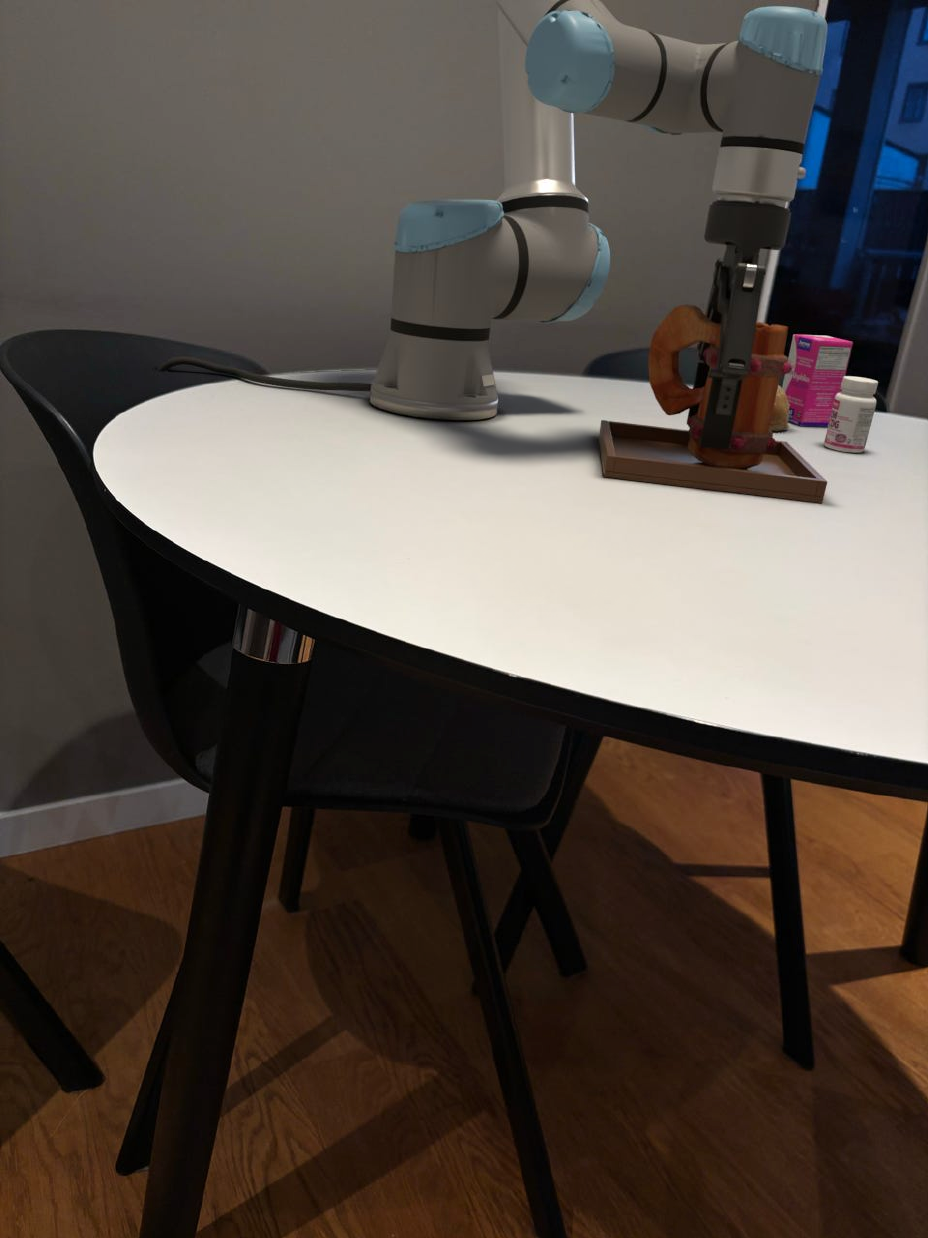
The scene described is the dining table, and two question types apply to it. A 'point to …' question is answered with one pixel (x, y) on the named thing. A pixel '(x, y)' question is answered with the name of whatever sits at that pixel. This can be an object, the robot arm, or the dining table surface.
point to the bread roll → (780, 412)
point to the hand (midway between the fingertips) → (706, 435)
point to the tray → (702, 464)
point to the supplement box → (815, 377)
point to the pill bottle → (851, 415)
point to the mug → (676, 397)
